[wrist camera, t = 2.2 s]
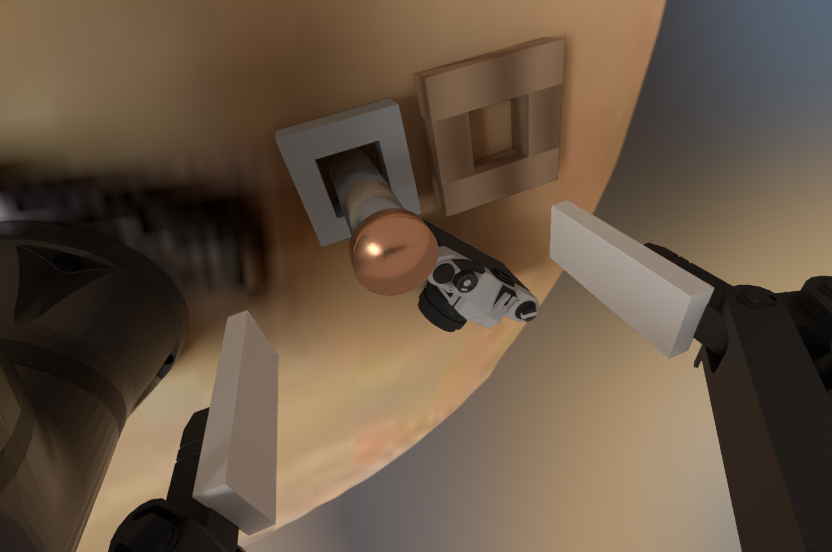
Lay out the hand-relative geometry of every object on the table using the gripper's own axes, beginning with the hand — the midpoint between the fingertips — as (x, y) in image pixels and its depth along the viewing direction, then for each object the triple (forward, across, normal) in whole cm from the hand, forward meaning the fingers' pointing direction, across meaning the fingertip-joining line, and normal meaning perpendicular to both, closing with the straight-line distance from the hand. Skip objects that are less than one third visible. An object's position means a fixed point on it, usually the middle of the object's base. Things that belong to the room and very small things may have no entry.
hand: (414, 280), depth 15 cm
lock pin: (+15, 0, 0) cm, 15 cm away
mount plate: (+15, 0, 0) cm, 15 cm away
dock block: (+15, +11, 0) cm, 18 cm away
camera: (+15, +5, -12) cm, 20 cm away
